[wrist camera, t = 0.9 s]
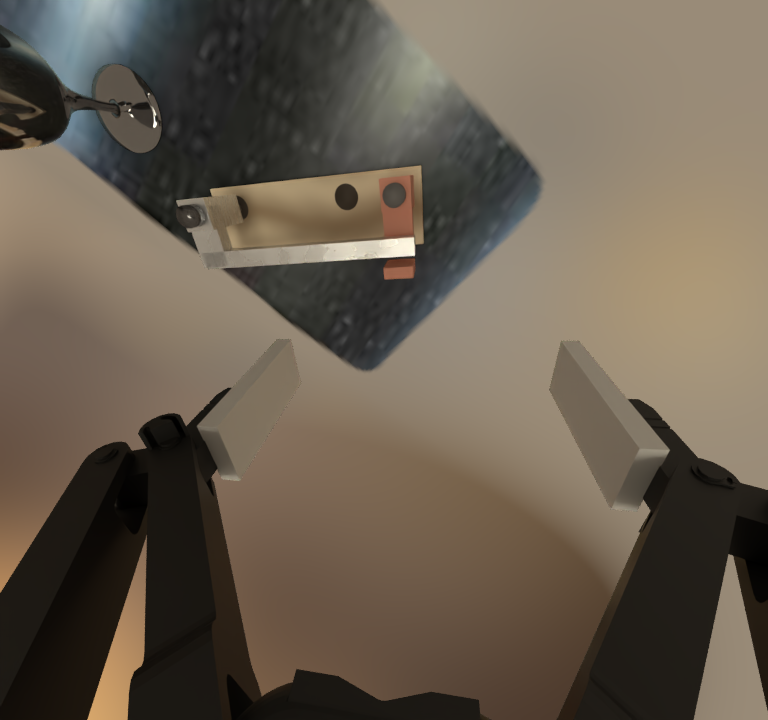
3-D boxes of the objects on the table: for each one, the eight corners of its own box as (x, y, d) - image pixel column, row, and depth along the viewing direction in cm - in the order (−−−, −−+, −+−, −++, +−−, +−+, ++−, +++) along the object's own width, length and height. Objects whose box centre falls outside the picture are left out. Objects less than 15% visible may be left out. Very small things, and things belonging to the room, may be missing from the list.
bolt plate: (216, 188, 35) (209, 189, 33) (421, 165, 31) (420, 165, 30) (237, 255, 38) (231, 257, 37) (423, 241, 34) (423, 243, 33)
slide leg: (386, 177, 30) (375, 179, 25) (413, 174, 30) (408, 175, 24) (392, 262, 34) (384, 279, 29) (417, 260, 34) (413, 277, 28)
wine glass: (79, 113, 33) (-151, 76, 20) (101, 33, 29) (-161, -75, 16) (149, 175, 35) (-18, 177, 22) (178, 108, 31) (-1, 63, 18)
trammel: (222, 195, 34) (166, 201, 27) (415, 174, 30) (409, 175, 23) (240, 254, 37) (194, 273, 30) (418, 241, 33) (413, 260, 26)
